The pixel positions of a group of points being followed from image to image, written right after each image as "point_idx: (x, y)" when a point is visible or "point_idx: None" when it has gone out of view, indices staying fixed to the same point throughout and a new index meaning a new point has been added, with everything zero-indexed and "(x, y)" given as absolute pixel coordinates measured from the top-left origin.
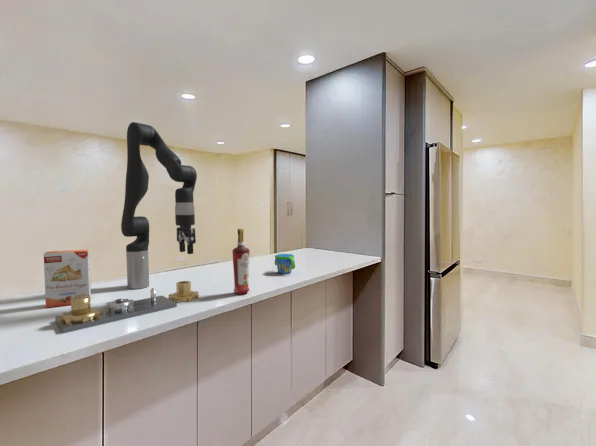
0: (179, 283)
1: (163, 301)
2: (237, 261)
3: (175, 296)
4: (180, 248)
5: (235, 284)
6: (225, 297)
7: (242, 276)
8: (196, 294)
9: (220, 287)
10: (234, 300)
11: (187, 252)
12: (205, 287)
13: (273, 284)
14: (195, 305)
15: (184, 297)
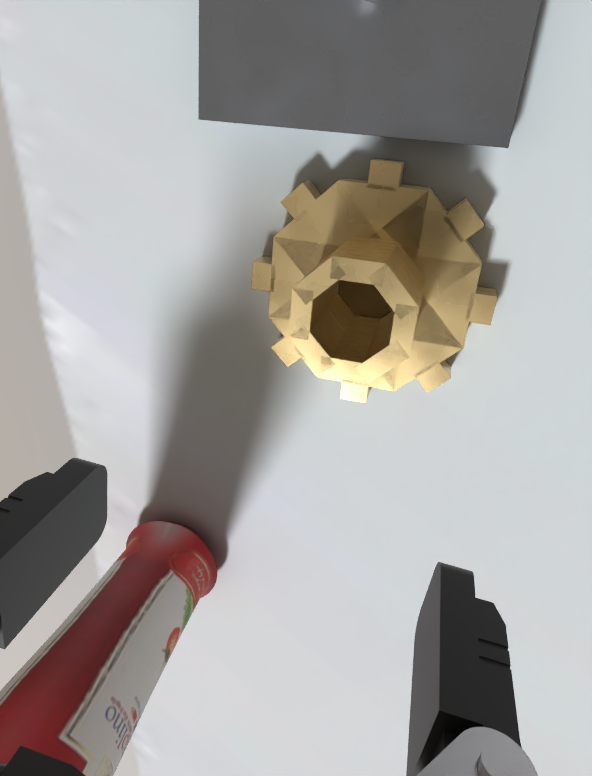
0: (346, 274)
1: (311, 54)
2: (10, 693)
3: (369, 212)
4: (439, 614)
5: (149, 557)
6: (168, 446)
7: (75, 608)
8: (286, 346)
9: (391, 587)
10: (84, 431)
11: (83, 470)
12: (489, 547)
13: (197, 728)
14: (148, 228)
15: (283, 242)
